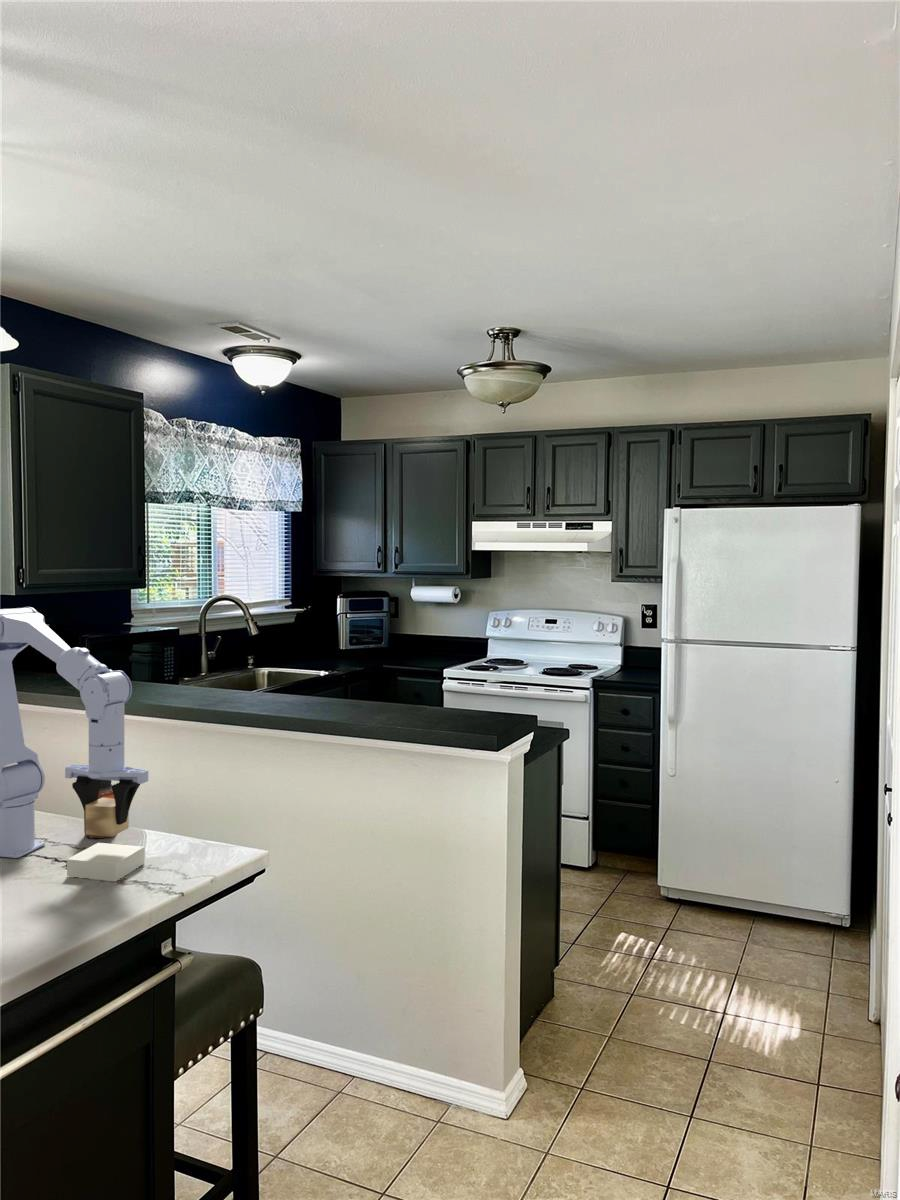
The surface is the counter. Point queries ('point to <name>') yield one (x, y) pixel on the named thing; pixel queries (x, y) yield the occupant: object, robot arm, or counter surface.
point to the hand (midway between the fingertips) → (106, 821)
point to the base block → (105, 861)
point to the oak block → (103, 818)
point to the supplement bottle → (104, 792)
